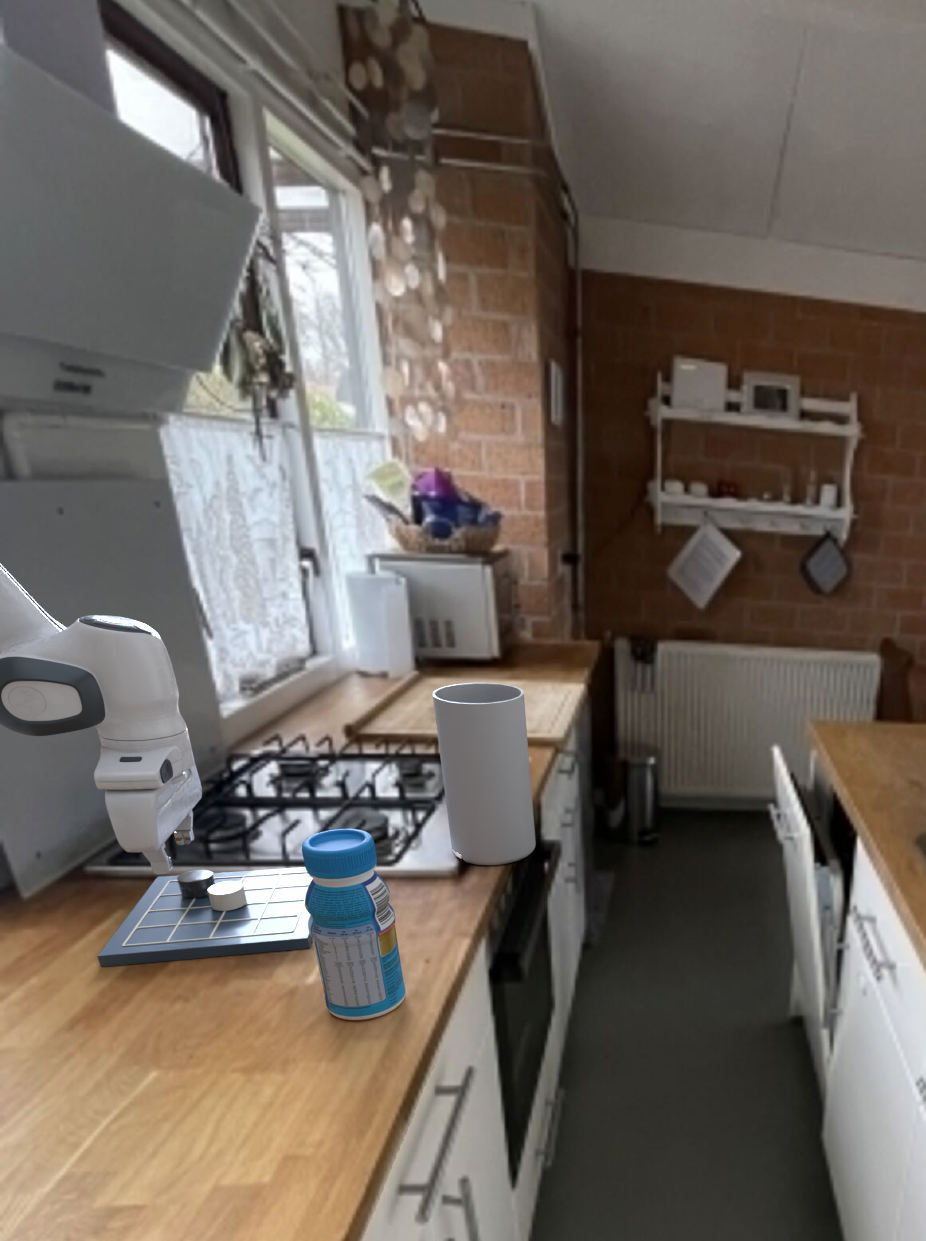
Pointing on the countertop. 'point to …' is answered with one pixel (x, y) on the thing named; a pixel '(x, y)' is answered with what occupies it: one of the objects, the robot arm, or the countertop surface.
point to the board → (214, 920)
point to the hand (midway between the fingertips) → (175, 857)
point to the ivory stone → (227, 896)
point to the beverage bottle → (352, 925)
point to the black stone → (195, 883)
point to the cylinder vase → (486, 771)
